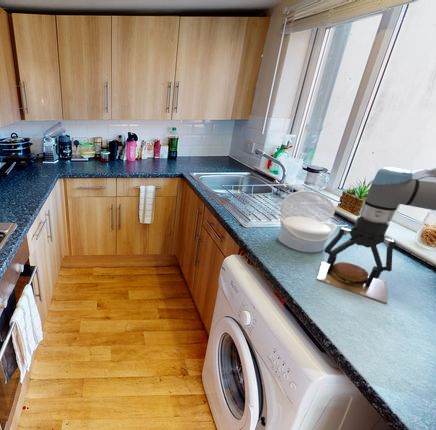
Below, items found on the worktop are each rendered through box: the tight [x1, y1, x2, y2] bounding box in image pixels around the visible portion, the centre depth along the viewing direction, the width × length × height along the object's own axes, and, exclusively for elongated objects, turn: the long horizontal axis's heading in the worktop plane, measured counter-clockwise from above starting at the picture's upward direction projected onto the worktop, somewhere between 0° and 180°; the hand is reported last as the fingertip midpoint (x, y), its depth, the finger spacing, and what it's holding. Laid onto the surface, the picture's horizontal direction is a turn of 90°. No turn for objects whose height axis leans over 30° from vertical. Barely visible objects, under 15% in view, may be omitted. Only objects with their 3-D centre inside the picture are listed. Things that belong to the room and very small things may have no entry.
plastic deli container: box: [277, 190, 338, 253], centre depth 116 cm, size 20×20×20 cm
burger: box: [331, 261, 369, 285], centre depth 95 cm, size 10×9×5 cm
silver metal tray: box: [316, 260, 388, 305], centre depth 96 cm, size 18×14×1 cm
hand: (347, 278), depth 96 cm, fingers closed on burger, 10 cm apart
